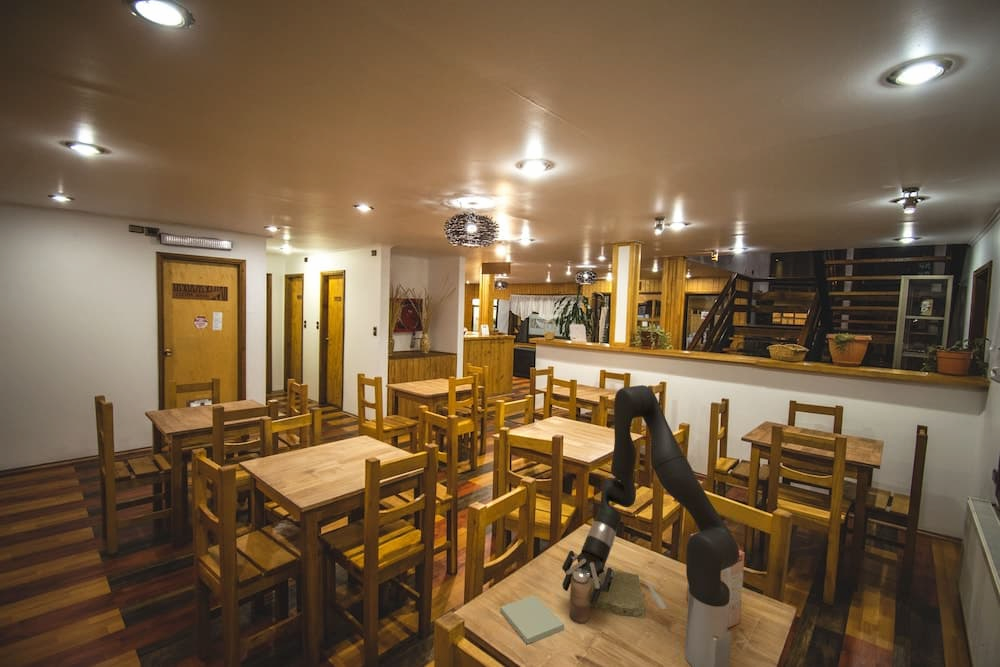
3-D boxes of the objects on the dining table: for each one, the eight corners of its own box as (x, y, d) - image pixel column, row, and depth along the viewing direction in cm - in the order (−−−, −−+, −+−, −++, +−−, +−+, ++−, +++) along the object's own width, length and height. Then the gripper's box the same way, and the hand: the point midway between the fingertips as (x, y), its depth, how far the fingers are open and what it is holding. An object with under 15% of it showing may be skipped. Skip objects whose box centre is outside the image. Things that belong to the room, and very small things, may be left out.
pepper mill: (593, 620, 126) (595, 575, 125) (577, 626, 123) (580, 580, 122) (580, 608, 131) (582, 565, 130) (565, 614, 128) (567, 570, 127)
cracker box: (741, 623, 127) (746, 552, 126) (727, 629, 124) (732, 557, 123) (699, 594, 139) (703, 529, 138) (685, 599, 136) (689, 533, 135)
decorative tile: (576, 573, 149) (577, 562, 149) (639, 582, 145) (639, 572, 145) (574, 609, 131) (574, 597, 131) (645, 621, 127) (646, 609, 127)
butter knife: (657, 608, 131) (667, 608, 132) (627, 558, 158) (635, 558, 159) (657, 610, 132) (667, 610, 132) (627, 560, 158) (635, 559, 159)
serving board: (563, 629, 122) (564, 624, 122) (527, 644, 116) (527, 639, 116) (534, 599, 134) (535, 594, 134) (500, 611, 128) (500, 606, 128)
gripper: (574, 527, 136) (551, 580, 128) (618, 545, 127) (596, 603, 119) (582, 538, 140) (560, 590, 132) (625, 555, 131) (604, 612, 123)
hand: (577, 596), depth 126 cm, fingers open, 8 cm apart
